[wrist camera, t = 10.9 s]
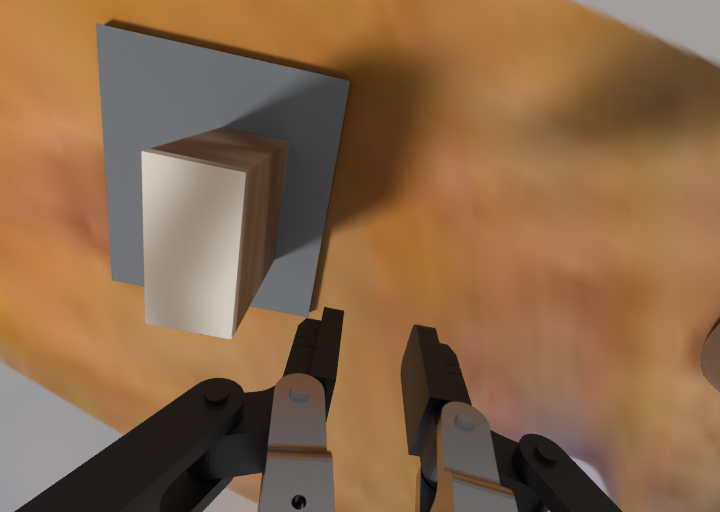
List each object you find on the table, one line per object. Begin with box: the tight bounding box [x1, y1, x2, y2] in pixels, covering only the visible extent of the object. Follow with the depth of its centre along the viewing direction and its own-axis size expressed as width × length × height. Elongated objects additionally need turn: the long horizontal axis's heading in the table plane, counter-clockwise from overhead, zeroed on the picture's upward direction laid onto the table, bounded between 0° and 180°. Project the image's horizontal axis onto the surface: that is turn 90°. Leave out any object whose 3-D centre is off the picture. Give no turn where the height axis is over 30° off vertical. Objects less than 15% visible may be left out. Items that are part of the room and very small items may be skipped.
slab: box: [141, 127, 290, 339], centre depth 21 cm, size 4×8×9 cm, turn 168°
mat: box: [96, 24, 350, 317], centre depth 25 cm, size 14×16×1 cm
